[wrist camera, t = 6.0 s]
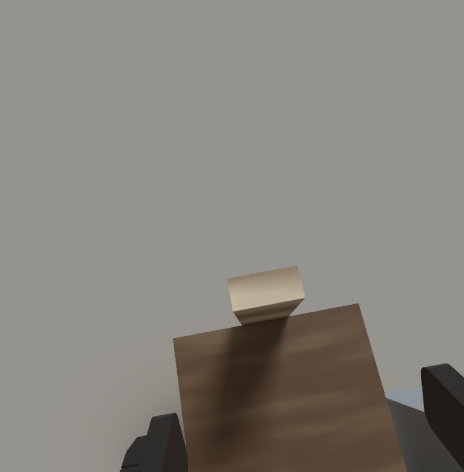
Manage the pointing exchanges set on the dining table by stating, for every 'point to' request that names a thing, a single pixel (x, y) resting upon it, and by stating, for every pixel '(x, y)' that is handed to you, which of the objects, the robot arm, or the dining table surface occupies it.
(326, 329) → the walnut box
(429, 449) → the gray rectangular box
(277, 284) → the slat
